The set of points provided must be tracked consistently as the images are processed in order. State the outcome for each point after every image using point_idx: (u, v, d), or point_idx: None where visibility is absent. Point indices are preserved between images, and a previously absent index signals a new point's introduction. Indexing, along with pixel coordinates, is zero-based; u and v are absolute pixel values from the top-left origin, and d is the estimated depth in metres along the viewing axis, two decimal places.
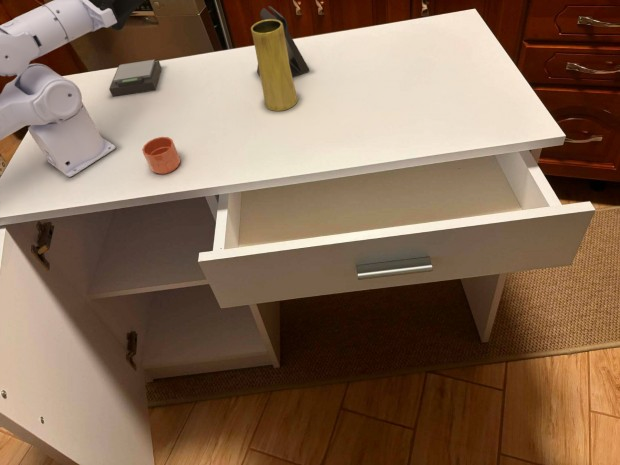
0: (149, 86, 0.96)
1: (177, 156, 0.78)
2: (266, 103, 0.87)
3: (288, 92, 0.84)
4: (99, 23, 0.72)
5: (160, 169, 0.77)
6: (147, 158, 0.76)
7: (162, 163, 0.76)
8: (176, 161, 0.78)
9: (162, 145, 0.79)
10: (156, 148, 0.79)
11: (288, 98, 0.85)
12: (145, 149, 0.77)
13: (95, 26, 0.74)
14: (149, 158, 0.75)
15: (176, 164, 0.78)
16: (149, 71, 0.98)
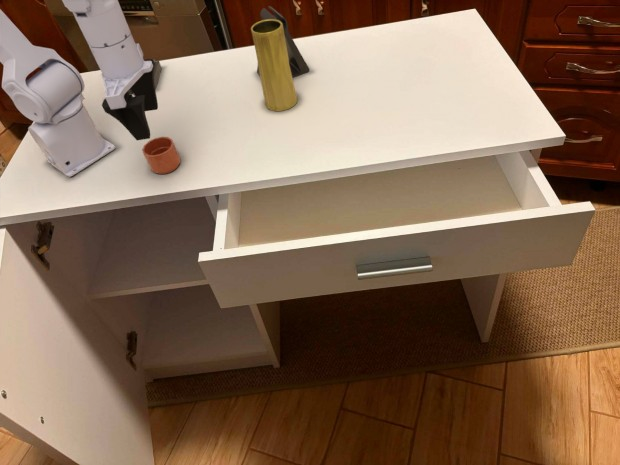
0: None
1: (177, 156, 0.78)
2: (266, 103, 0.87)
3: (288, 92, 0.84)
4: (110, 88, 0.64)
5: (160, 169, 0.77)
6: (147, 158, 0.76)
7: (162, 163, 0.76)
8: (176, 161, 0.78)
9: (162, 145, 0.79)
10: (156, 148, 0.79)
11: (288, 98, 0.85)
12: (145, 149, 0.77)
13: (106, 80, 0.65)
14: (149, 158, 0.75)
15: (176, 164, 0.78)
16: None
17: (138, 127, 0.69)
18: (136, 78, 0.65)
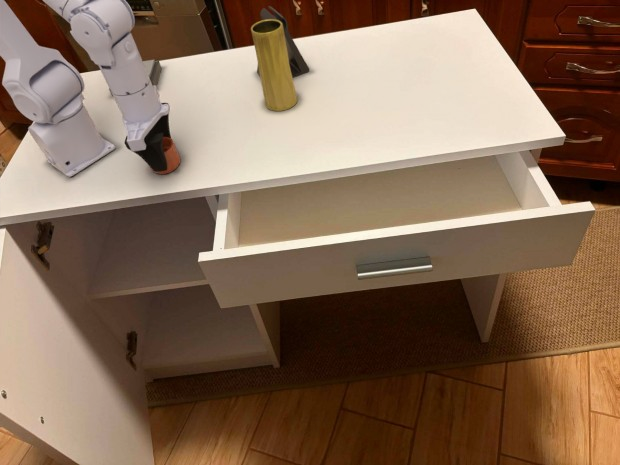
0: None
1: (177, 156, 0.78)
2: (266, 103, 0.87)
3: (288, 92, 0.84)
4: (130, 131, 0.69)
5: None
6: None
7: None
8: (176, 161, 0.78)
9: None
10: None
11: (288, 98, 0.85)
12: None
13: (127, 123, 0.70)
14: None
15: (176, 164, 0.78)
16: (149, 71, 0.98)
17: (156, 160, 0.75)
18: (155, 121, 0.70)
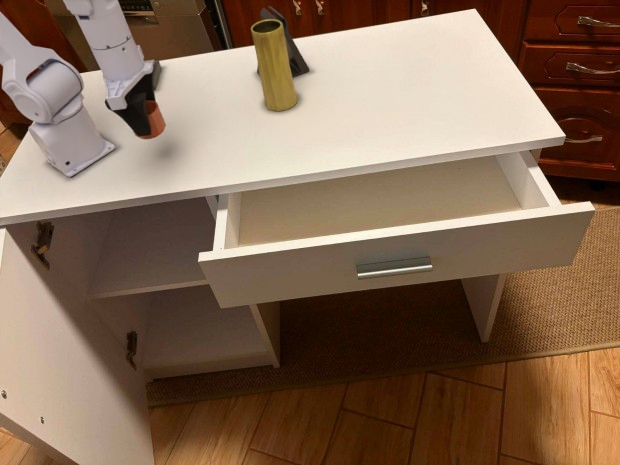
0: None
1: (162, 120, 0.74)
2: (266, 103, 0.87)
3: (288, 92, 0.84)
4: (110, 89, 0.65)
5: None
6: None
7: None
8: (161, 126, 0.74)
9: (147, 109, 0.75)
10: None
11: (288, 98, 0.85)
12: None
13: (108, 82, 0.66)
14: None
15: (161, 129, 0.74)
16: None
17: (140, 123, 0.71)
18: (137, 80, 0.66)
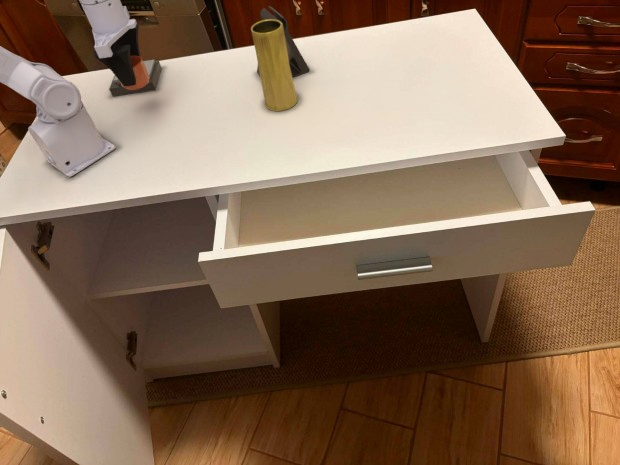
0: (149, 86, 0.96)
1: (146, 73, 0.84)
2: (266, 103, 0.87)
3: (288, 92, 0.84)
4: (98, 40, 0.74)
5: None
6: None
7: None
8: (145, 78, 0.83)
9: (133, 64, 0.85)
10: None
11: (288, 98, 0.85)
12: None
13: (96, 34, 0.76)
14: None
15: (145, 81, 0.84)
16: (149, 71, 0.98)
17: (125, 74, 0.80)
18: (121, 33, 0.76)
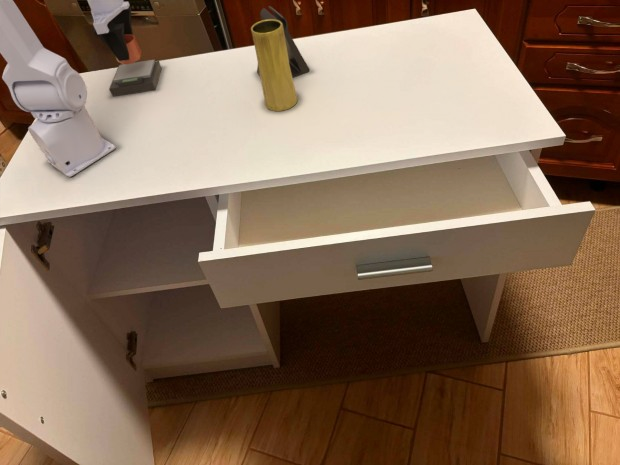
0: (149, 86, 0.96)
1: (138, 49, 0.96)
2: (266, 103, 0.87)
3: (288, 92, 0.84)
4: (97, 19, 0.87)
5: None
6: None
7: None
8: (137, 53, 0.96)
9: (126, 42, 0.97)
10: None
11: (288, 98, 0.85)
12: None
13: (94, 14, 0.88)
14: None
15: (137, 56, 0.96)
16: (149, 71, 0.98)
17: (120, 49, 0.92)
18: (116, 13, 0.88)
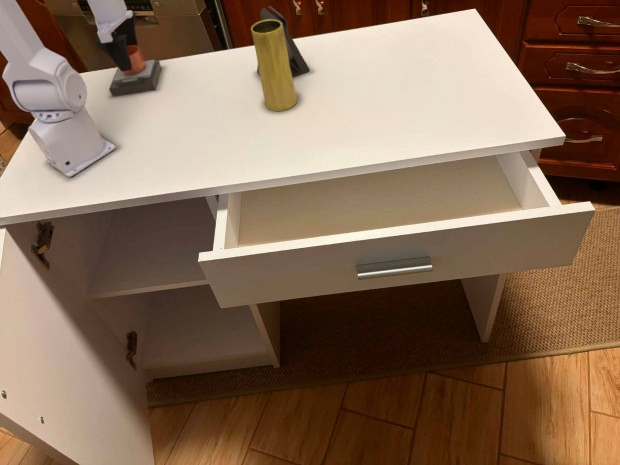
0: (149, 86, 0.96)
1: (143, 60, 0.97)
2: (266, 103, 0.87)
3: (288, 92, 0.84)
4: (101, 28, 0.88)
5: None
6: None
7: None
8: (142, 64, 0.97)
9: (131, 52, 0.99)
10: None
11: (288, 98, 0.85)
12: None
13: (98, 23, 0.89)
14: None
15: (142, 66, 0.97)
16: (149, 71, 0.98)
17: (122, 60, 0.93)
18: (120, 21, 0.89)
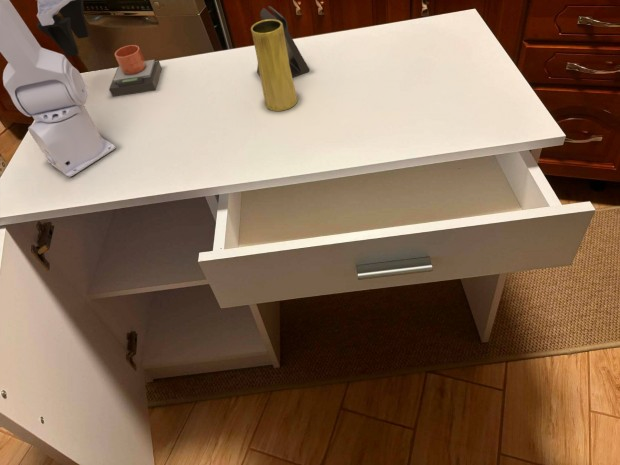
0: (149, 86, 0.96)
1: (143, 60, 0.97)
2: (266, 103, 0.87)
3: (288, 92, 0.84)
4: (41, 10, 0.84)
5: (129, 69, 0.96)
6: (118, 60, 0.95)
7: (130, 64, 0.96)
8: (142, 64, 0.97)
9: (131, 52, 0.99)
10: (126, 55, 0.99)
11: (288, 98, 0.85)
12: (117, 54, 0.97)
13: (40, 5, 0.85)
14: (119, 59, 0.95)
15: (142, 66, 0.97)
16: (149, 71, 0.98)
17: (67, 45, 0.89)
18: (63, 4, 0.85)
